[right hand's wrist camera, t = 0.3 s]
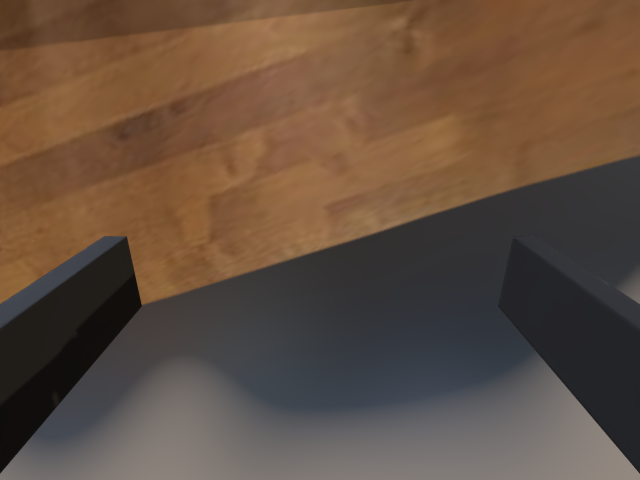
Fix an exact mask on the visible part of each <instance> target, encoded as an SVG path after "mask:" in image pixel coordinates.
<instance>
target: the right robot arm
mask: <svg viewBox="0 0 640 480" xmlns="http://www.w3.org/2000/svg"><path fill="white" fill-rule="evenodd" d="M498 306H499V308H500V309H501V310H502V311H503V312H504V314H505V315H506V316H507V317H508V318H509V320H510V321H511V322H512V323H513V324H514V325H515V327H516V328H517V329H518V330H519V331H520V333H521V334H522V335H523V336H524V337H525V338H526V340H527V341H528V342H529V343H530V344H531V346H532V347H533V348H534V349H535V350H536V351H537V353H538V354H539V355H540V356H541V357H542V358H543V360H544V361H545V362H546V363H547V364H548V366H549V367H550V368H551V369H552V370H553V372H554V373H555V374H556V375H557V376H558V377H559V379H560V380H561V381H562V382H563V383H564V384H565V386H566V387H567V388H568V389H569V390H570V391H571V393H572V394H573V395H574V396H575V397H576V399H577V400H578V401H579V402H580V403H581V405H582V406H583V407H584V408H585V409H586V410H587V412H588V413H589V414H590V415H591V416H592V418H593V419H594V420H595V421H596V422H597V423H598V425H599V426H600V427H601V428H602V429H603V431H604V432H605V433H606V434H607V435H608V437H609V438H610V439H611V440H612V441H613V442H614V444H615V445H616V446H617V447H618V448H619V449H620V451H621V452H622V453H623V454H624V455H625V457H626V458H627V459H628V460H629V461H630V463H631V464H632V465H633V466H634V467H635V468H636V469H637V471H638V472H639V473H640V304H639V303H637V302H635V301H634V300H632V299H631V298H629V297H628V296H626V295H625V294H623V293H622V292H620V291H619V290H617V289H616V288H614V287H613V286H611V285H609V284H608V283H606V282H605V281H603V280H602V279H600V278H599V277H597V276H596V275H594V274H593V273H591V272H589V271H588V270H586V269H585V268H583V267H582V266H580V265H579V264H577V263H576V262H574V261H573V260H571V259H570V258H568V257H567V256H565V255H563V254H562V253H560V252H559V251H557V250H556V249H554V248H553V247H551V246H550V245H548V244H547V243H545V242H543V241H542V240H540V239H539V238H537V237H535V236H533V237H532V236H530V237H529V236H528V237H525V236H523V237H522V236H521V237H520V236H519V237H516V236H515V237H513V240H512V245H511V249H510V254H509V259H508V263H507V268H506V272H505V277H504V282H503V286H502V291H501V296H500V300H499V305H498ZM141 307H142V305H141V300H140V295H139V291H138V286H137V282H136V277H135V272H134V268H133V263H132V259H131V254H130V249H129V245H128V240H127V236H104V237H103V238H101V239H100V240H98V241H96V242H95V243H93V244H92V245H90V246H89V247H87V248H86V249H84V250H83V251H81V252H80V253H78V254H77V255H75V256H73V257H72V258H70V259H69V260H67V261H66V262H64V263H63V264H61V265H60V266H58V267H57V268H55V269H54V270H52V271H50V272H49V273H47V274H46V275H44V276H43V277H41V278H40V279H38V280H37V281H35V282H34V283H32V284H31V285H29V286H27V287H26V288H24V289H23V290H21V291H20V292H18V293H17V294H15V295H14V296H12V297H11V298H9V299H8V300H6V301H4V302H3V303H1V304H0V473H1V472H2V471H3V470H4V468H5V467H6V466H7V465H8V464H9V462H10V461H11V460H12V459H13V458H14V457H15V455H16V454H17V453H18V452H19V451H20V449H21V448H22V447H23V446H24V445H25V444H26V442H27V441H28V440H29V439H30V438H31V436H32V435H33V434H34V433H35V432H36V431H37V429H38V428H39V427H40V426H41V425H42V424H43V422H44V421H45V420H46V419H47V418H48V416H49V415H50V414H51V413H52V412H53V411H54V409H55V408H56V407H57V406H58V405H59V403H60V402H61V401H62V400H63V399H64V397H65V396H66V395H67V394H68V393H69V392H70V390H71V389H72V388H73V387H74V386H75V385H76V383H77V382H78V381H79V380H80V379H81V377H82V376H83V375H84V374H85V373H86V372H87V370H88V369H89V368H90V367H91V366H92V364H93V363H94V362H95V361H96V360H97V359H98V357H99V356H100V355H101V354H102V353H103V351H104V350H105V349H106V348H107V347H108V345H109V344H110V343H111V342H112V341H113V340H114V338H115V337H116V336H117V335H118V334H119V333H120V331H121V330H122V329H123V328H124V327H125V325H126V324H127V323H128V322H129V321H130V320H131V318H132V317H133V316H134V315H135V314H136V312H137V311H138V310H139V309H140V308H141Z"/></svg>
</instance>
